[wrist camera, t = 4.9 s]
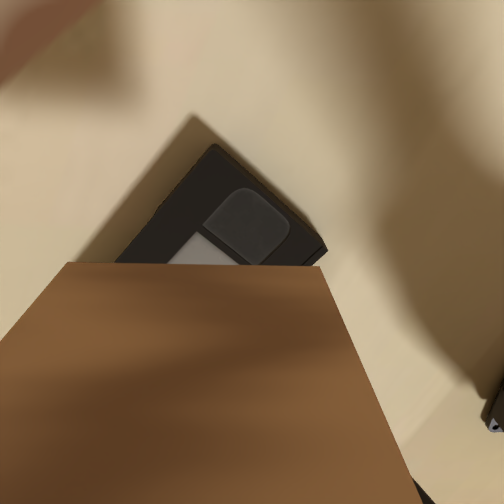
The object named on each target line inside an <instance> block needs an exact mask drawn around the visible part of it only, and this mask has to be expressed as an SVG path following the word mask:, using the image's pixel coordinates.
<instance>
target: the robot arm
mask: <svg viewBox="0 0 504 504" xmlns="http://www.w3.org/2000/svg"><path fill="white" fill-rule="evenodd" d="M485 425H486V427H487V428H488V430H489V431H490V432H504V379H503V381H502V384H501V386H500V389H499V391H498V393H497V396H496V398H495V401H494V403H493V406H492V408H491V410H490V413H489V415H488V418H487V420H486V423H485ZM412 480H413V482H414V484H415V487H416V489H417V491H418V494H419V496H420V498H421V500H422V503H423V504H435V503H434V502H433V500H432V499H431V498H430V497H429V496H428V495H427V494H426V493H425V491H424V490H423V489H422V488H421V487H420V486H419V485H418V483H417V482H416V481H415V480H414V479H413V478H412Z"/></svg>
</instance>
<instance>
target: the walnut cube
mask: <svg viewBox="0 0 504 504" xmlns="http://www.w3.org/2000/svg"><path fill="white" fill-rule="evenodd" d="M0 504H423V503H422V500H421V498H420V496H419V494H418V491H417V489H416V487H415V484H414V482H413V480H412V477H411V475H410V473H409V471H408V468H407V466H406V464H405V461H404V459H403V457H402V455H401V452H400V450H399V448H398V445H397V443H396V441H395V438H394V436H393V434H392V432H391V429H390V427H389V425H388V422H387V420H386V418H385V416H384V413H383V411H382V409H381V406H380V404H379V402H378V399H377V397H376V395H375V393H374V390H373V388H372V386H371V383H370V381H369V379H368V377H367V374H366V372H365V370H364V367H363V365H362V363H361V360H360V358H359V356H358V354H357V351H356V349H355V347H354V344H353V342H352V340H351V338H350V335H349V333H348V331H347V328H346V326H345V324H344V321H343V319H342V317H341V315H340V312H339V310H338V308H337V305H336V303H335V301H334V298H333V296H332V294H331V292H330V289H329V287H328V285H327V282H326V280H325V278H324V276H323V273H322V271H321V269H320V266H267V265H207V264H146V263H86V262H67V263H66V264H65V266H64V267H63V268H62V269H61V270H60V271H59V273H58V274H57V275H56V276H55V277H54V279H53V280H52V281H51V282H50V283H49V284H48V286H47V287H46V288H45V289H44V290H43V292H42V293H41V294H40V295H39V296H38V297H37V299H36V300H35V301H34V302H33V303H32V305H31V306H30V307H29V308H28V309H27V310H26V312H25V313H24V314H23V315H22V316H21V318H20V319H19V320H18V321H17V322H16V323H15V325H14V326H13V327H12V328H11V329H10V331H9V332H8V333H7V334H6V335H5V336H4V338H3V339H2V340H1V341H0Z"/></svg>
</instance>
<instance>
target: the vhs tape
mask: <svg viewBox="0 0 504 504" xmlns="http://www.w3.org/2000/svg"><path fill="white" fill-rule="evenodd" d="M327 251H328V249H327V247H326V245H325V243H324V241H323V239H322V238H321V237H320V236H319V235H318V234H317V233H315V232H314V231H313V230H312V229H311V228H310V227H309V226H307V224H306V223H305V222H304V221H302V220H301V219H300V218H299V217H298V216H297V215H296V214H295V213H294V212H293V211H291V210H290V209H289V208H288V207H287V206H286V205H285V204H284V203H283V202H282V201H280V200H279V199H278V198H277V197H276V196H275V195H274V194H273V193H272V192H270V191H269V190H268V189H267V188H266V187H265V186H264V185H263V184H262V183H260V182H259V181H258V180H257V179H256V178H255V177H254V176H253V175H252V174H250V173H249V172H248V171H247V170H246V169H245V168H244V167H243V166H242V165H240V164H239V163H238V162H237V161H236V160H235V159H234V158H232V157H231V156H230V155H229V154H228V153H227V152H226V151H224V150H223V149H222V148H221V147H220V146H219V145H217V144H212V145H211V146H210V147H209V148H208V150H207V151H206V152H205V153H204V154H203V155H202V157H201V158H200V159H199V160H198V161H197V163H196V164H195V165H194V166H193V167H192V168H191V170H190V171H189V172H188V173H187V174H186V176H185V177H184V178H183V179H182V180H181V181H180V183H179V184H178V185H177V186H176V187H175V189H174V190H173V191H172V192H171V193H170V194H169V196H168V197H167V198H166V199H165V200H164V201H163V203H162V204H161V205H160V206H159V207H158V209H157V211H156V213H155V214H154V216H153V218H152V219H151V220H150V221H149V222H148V223H147V225H146V226H145V227H144V228H143V229H142V230H141V232H140V233H139V234H138V235H137V236H136V237H135V239H134V240H133V241H132V242H131V243H130V245H129V246H128V247H127V248H126V249H125V250H124V252H123V253H122V254H121V255H120V256H119V257H118V259H117V260H116V261H115V262H114V263H146V264H207V265H267V266H312V265H313V264H314V263H315V262H316V261H318V260H319V259H320V258H321V257H322V256H323V255H324V254H325V253H326V252H327Z"/></svg>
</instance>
